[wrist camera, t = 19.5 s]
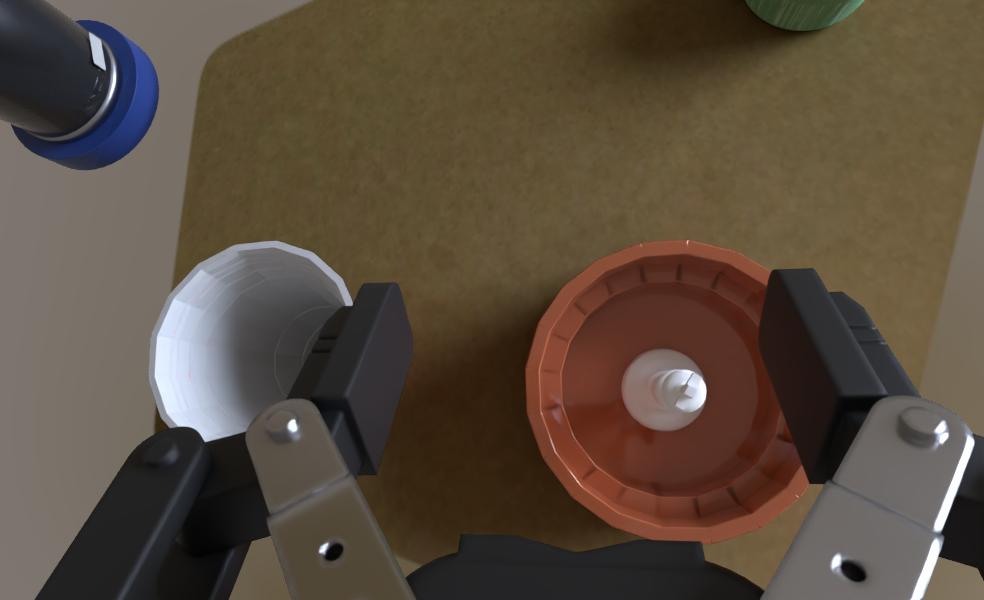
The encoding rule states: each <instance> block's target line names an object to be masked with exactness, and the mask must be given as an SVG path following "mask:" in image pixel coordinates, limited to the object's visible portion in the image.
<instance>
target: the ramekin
mask: <svg viewBox="0 0 984 600" xmlns="http://www.w3.org/2000/svg"><path fill="white" fill-rule="evenodd" d="M745 1H746V3H747V5H748V6H749V7H750V9H751V10H752V11H753V12H754V13H755V14H756V15H757V16H758V17H760V18H761V19H763V20H764V21H766V22H768V23H769V24H771V25H774V26H776V27H779V28H783V29H787V30H795V31H810V30H818V29H822V28H825V27H828V26H831V25H833V24H835V23H837V22H839V21H841V20H843V19H844V18H846V17H847V16H848V15H850V14H851V13H852V12H853V11H854V10H855V9H857V8H858V7H859V6H860V5H861V3H862V2H863V1H864V0H745Z"/></svg>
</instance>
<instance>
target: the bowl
mask: <svg viewBox="0 0 984 600" xmlns="http://www.w3.org/2000/svg"><path fill="white" fill-rule="evenodd" d="M770 273H771V271H769V270H767V269H766V268H764V267H762V266H760V265H759V264H757V263H755V262H753V261H752V260H750V259H748V258H747V257H745V256H743V255H741V254H740V253H738V252H736V251H735V252H734V251H733V250H728V249H724V248H720V247H716V246H711V245H707V244H703V243H699V242H694V241H690V240H689V241H688V240H677V241H662V242H646V243H639V244H636V245H634V246H631V247H629V248H626V249H623V250H621V251H618V252H615V253H613V254H610V255H608V256H605V257H602V258H600V259H598V260H596V261H595V262H593V263H592V264H591V265H590V266H588V267H587V268H586V269H585V270H583V271H582V272H581V273H580V274H578V275H577V276H576V277H575V278H573V279H572V280H571V281H569V282H568V283H567V284H566V285H564V286H563V288H561V290H560V291H559V293H558V294H557V296H556V297H555V299H554V300H553V302H552V303H551V305H550V306H549V308H548V309H547V311H546V312H545V314H544V315H543V317H542V318H541V320H540V321H539V323H538V325H537V328H536V331H535V335H534V338H533V342H532V345H531V349H530V352H529V356H528V359H527V363H526V368H525V381H526V410H527V416H528V419H529V422H530V425H531V427H532V430H533V433H534V436H535V439H536V442H537V444H538V447H539V450H540V453H541V456H542V457H543V460H544V461H545V463H546V464H547V465H548V467H549V468H550V469H551V471H552V472H553V473H554V475H555V476H556V477H557V479H558V480H559V481H560V483H561V484H562V485H563V487H564V488H565V489H566V491H567V492H568V493H569V495H570V496H571V497H572V498H573V499H574V500H576V501H577V502H578V503H580V504H581V505H583V506H584V507H585V508H587V509H588V510H589V511H591V512H592V513H593V514H595V515H596V516H598V517H599V518H600V519H602V520H603V521H604V522H606V523H607V524H609V525H610V526H613V527H614V528H616V529H619V530H622V531H625V532H628V533H631V534H634V535H637V536H640V537H643V538H646V539H649V540H671V541H701V542H702V544H711V543H712V544H714V543H717V542H720V541H724V540H727V539H730V538H733V537H736V536H739V535H742V534H745V533H749V532H752V531H755V530H758V529H759V528H762V527H763V526H764V525H766V524H767V523H768V522H770V521H771V520H772V519H774V518H775V517H776V516H778V515H779V514H780V513H781V512H783V511H784V510H785V509H787V508H788V507H789V506H791V505H792V504H793V503H795V502H796V501H797V500H799V498H801V496H802V495H803V493H804V492H805V490H806V489H807V487H808V486H809V481H808V479H807V476H806V473H805V471H804V468H803V466H802V463H801V460H800V458H799V455H798V452H797V450H796V447H795V444H794V442H793V439H792V436H791V434H790V431H789V429H788V426H787V423H786V421H785V418H784V415H783V413H782V410H781V407H780V405H779V402H778V400H777V397H776V394H775V392H774V389H773V386H772V384H771V381H770V378H769V376H768V373H767V371H766V368H765V365H764V363H763V360H762V357H761V354H760V350H759V342H758V330H759V324H760V319H761V314H762V309H763V304H764V299H765V294H766V289H767V284H768V279H769V276H770ZM653 349H671V350H675V351H678V352H680V353H683V354H684V355H686V356H688V357H689V358H690V359H691V360H693V361H694V362H695V363H696V365H697V366H698V367H699V368H700V370H701V372H702V374H703V376H704V378H705V382H706V387H707V397H706V402H705V405H704V408H703V410H702V412H701V413H700V415H699V416H698V417H697V418H696V419H695V420H694V421H693V422H692V423H691V424H689V425H688V426H686V427H684V428H682V429H679V430H675V431H668V432H663V431H656V430H652V429H650V428H647V427H645V426H643V425H642V424H640V423H639V422H638V421H636V420H635V419H634V418H633V417H632V416H631V414H630V413H629V411H628V410H627V408H626V406H625V404H624V401H623V398H622V390H621V386H622V379H623V376H624V373H625V371H626V369H627V367H628V366H629V364H630V363H631V362H632V361H633V360H634V359H635V358H636V357H637V356H639V355H640V354H642V353H644V352H647V351H649V350H653Z"/></svg>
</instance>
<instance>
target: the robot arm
mask: <svg viewBox="0 0 984 600" xmlns="http://www.w3.org/2000/svg"><path fill="white" fill-rule="evenodd" d="M121 86H122V69H121V64H120V61H119V58H118V56H117V54H116V53H115V51H114V50H113V48H112V47H111V46H110V45H109V44H108V43H107V42H105V41H104V40H103V39H101V38H100V37H98V36H97V35H96V34H94V33H92V32H91V31H88V30H86V29H85V28H83V27H82V26H81V25H79V24H78V23H76V22H75V21H74V20H72V19H71V18H69V17H68V16H66V15H65V14H64V13H63V12H61V11H60V10H58V9H57V8H55V7H54V6H53V5H51V4H50V3H48V2H47V1H45V0H0V119H1V120H3V121H5V122H8V123H10V124H12V125H14V126H16V127H19V128H21V129H23V130H25V131H26V132H28V133H29V134H31V135H33V136H36V137H38V138H40V139H42V140H45V141H47V142H51V143H57V144H65V143H71V142H75V141H78V140H81V139H83V138H85V137H87V136H89V135H90V134H92V133H93V132H95V131H96V130H97V129H98V128H99V127H100V126H101V125H102V124H103V123H104V122H105V121H106V120H107V119H108V117H109V116H110V114H111V113H112V111H113V110H114V108H115V106H116V103H117V101H118V98H119V95H120V92H121ZM758 342H759V350H760V354H761V357H762V360H763V363H764V365H765V368H766V371H767V373H768V376H769V378H770V381H771V384H772V386H773V389H774V392H775V394H776V397H777V400H778V402H779V405H780V407H781V410H782V413H783V415H784V418H785V421H786V423H787V426H788V429H789V431H790V434H791V436H792V439H793V442H794V444H795V447H796V450H797V452H798V455H799V458H800V460H801V463H802V466H803V468H804V471H805V473H806V476H807V479H808V481H809V484H825V485H824V487H823V488H822V490H821V492H820V494H819V495H818V497H817V499H816V501H815V503H814V504H813V506H812V508H811V510H810V511H809V513H808V515H807V517H806V519H805V520H804V522H803V524H802V526H801V528H800V529H799V531H798V533H797V535H796V536H795V538H794V540H793V542H792V544H791V545H790V547H789V549H788V551H787V552H786V554H785V556H784V558H783V560H782V561H781V563H780V565H779V567H778V568H777V570H776V572H775V574H774V576H773V577H772V579H771V581H770V583H769V584H768V586H767V588H766V590H765V591H764V590H763V589H762V588H760V587H759V586H757V585H756V584H754V583H753V582H751V581H750V580H748V579H746V578H745V577H743V576H741V575H739V574H737V573H735V572H733V571H731V570H729V569H727V568H724V567H722V566H719V565H717V564H714V563H710V562H707V561H705V558H704V553H703V548H702V542H701V541H671V540H635V541H630V542H626V543H621V544H616V545H612V546H607V547H603V548H598V549H593V550H589V551H584V552H573V551H569V550H565V549H562V548H558V547H555V546H551V545H548V544H544V543H541V542H537V541H534V540H530V539H527V538H523V537H520V536H509V535H477V534H460V540H459V546H458V552H456V553H452V554H449V555H446V556H443V557H440V558H437V559H435V560H433V561H431V562H429V563H427V564H425V565H423V566H421V567H420V568H418V569H417V570H415V571H414V572H412V573H411V574H410V575H408V576H407V577H406V578H405V576H404V574H403V572H402V571H401V568H400V566H399V564H398V562H397V560H396V558H395V556H394V554H393V552H392V550H391V549H390V547H389V545H388V543H387V541H386V539H385V537H384V535H383V533H382V531H381V529H380V527H379V525H378V523H377V521H376V519H375V517H374V515H373V513H372V511H371V509H370V507H369V505H368V503H367V501H366V499H365V497H364V495H363V493H362V491H361V489H360V487H359V485H358V484H357V482H356V480H357V477H358V475H377V471H378V468H379V465H380V462H381V458H382V455H383V452H384V449H385V445H386V442H387V439H388V436H389V432H390V429H391V426H392V423H393V419H394V416H395V413H396V410H397V406H398V403H399V400H400V397H401V393H402V390H403V387H404V384H405V380H406V377H407V374H408V371H409V367H410V364H411V361H412V356H413V337H412V332H411V328H410V324H409V321H408V317H407V313H406V309H405V305H404V302H403V298H402V294H401V290H400V287H399V285H398V284H397V283H370V284H363V285H362V286H361V288H360V290H359V292H358V295H357V297H356V299H355V301H354V303H353V305H352V306H342V307H341V308H340V309H338V310H337V311H336V312H335V313H334V314H333V315H332V316H331V317H330V318H329V319H328V320H326V322H325V324H324V326H323V328H322V330H321V332H320V334H319V336H318V340H316V342H315V344H314V346H313V348H312V350H311V353H309V355H308V357H307V359H306V361H305V363H304V365H303V367H302V369H301V371H300V373H299V375H298V377H297V379H296V381H295V383H294V385H293V386H292V388H291V390H290V392H289V394H288V396H287V398H286V400H283V401H280V402H277V403H275V404H273V405H271V406H269V407H267V408H266V409H264V410H263V411H262V412H260V413H259V414H258V415H257V416H256V417H255V418H254V419H253V420H252V422H251V423H250V425H249V427H248V429H247V431H245V432H242V433H238V434H235V435H231V436H227V437H223V438H219V439H215V440H212V441H208V442H205V441H204V439H203V438H202V436H201V435H200V433H199V432H198V431H197V430H196V429H193V428H191V427H184V426H180V427H173V428H169V429H166V430H163V431H160V432H158V433H156V434H154V435H152V436H151V437H149V438H148V439H146V440H145V441H143V442H142V443H141V444H140V445H139V446H137V447H136V449H134V451H133V452H132V453H131V454H130V456H129V457H128V458H127V460H126V462H125V463H124V465H123V466H122V468H121V469H120V471H119V472H118V474H117V475H116V477H115V478H114V480H113V481H112V483H111V484H110V486H109V487H108V489H107V490H106V492H105V494H104V495H103V497H102V498H101V499H100V501H99V502H98V504H97V506H96V507H95V509H94V510H93V512H92V513H91V515H90V516H89V518H88V520H87V521H86V522H85V524H84V526H83V527H82V528H81V530H80V531H79V533H78V535H77V536H76V537H75V539H74V541H73V542H72V544H71V545H70V547H69V548H68V550H67V551H66V553H65V554H64V556H63V557H62V559H61V560H60V562H59V563H58V565H57V567H56V568H55V569H54V571H53V573H52V574H51V576H50V577H49V579H48V580H47V582H46V583H45V585H44V586H43V588H42V589H41V591H40V592H39V594H38V595H37V597H36V598H35V600H229V597H230V595H231V592H232V590H233V587H234V584H235V582H236V580H237V577H238V574H239V572H240V570H241V567H242V564H243V562H244V559H245V557H246V554H247V552H248V549H249V546H250V544H251V542H252V541H254V540H258V539H261V538H265V537H268V536H271V537H272V540H273V543H274V546H275V550H276V553H277V556H278V559H279V562H280V565H281V568H282V571H283V574H284V577H285V581H286V584H287V586H288V590H289V593H290V596H291V599H292V600H922V599H923V596H924V593H925V591H926V588H927V585H928V582H929V580H930V577H931V574H932V571H933V569H934V566H935V563H936V561H937V558H938V557H942V558H945V559H948V560H952V561H955V562H959V563H962V564H965V565H969V566H972V567H975V568H978V570H979V572H980V574H981V576H982V578H983V580H984V437H982V436H978V435H975V434H972V433H971V431H970V429H969V427H968V426H967V425H966V424H965V422H964V421H963V420H962V419H960V418H959V417H958V416H957V415H956V414H955V413H953V412H952V411H950V410H949V409H947V408H945V407H943V406H942V405H940V404H937V403H934V402H933V401H930V400H927V399H924V398H921V396H920V395H919V393H918V391H917V390H916V388H915V387H914V385H913V384H912V382H911V381H910V379H909V377H908V376H907V374H906V373H905V371H904V370H903V368H902V367H901V365H900V363H899V362H898V360H897V359H896V357H895V356H894V354H893V353H892V351H891V349H890V348H889V346H888V345H887V344H885V340H884V339H883V337H882V335H881V334H880V332H879V331H878V329H875V325H874V323H873V321H872V320H871V318H870V317H869V315H868V314H867V312H866V311H865V309H864V307H862V306H861V305H860V304H858V303H857V302H855V301H854V300H853V299H851V298H850V297H849V296H847V295H846V294H845V293H843V292H828V291H827V289H826V287H825V286H824V284H823V282H822V280H821V279H820V277H819V275H818V274H817V272H816V271H815V270H814V269H813V268H806V269H778V270H772V272H771V273H770V276H769V279H768V284H767V289H766V294H765V299H764V304H763V309H762V314H761V319H760V324H759V330H758Z"/></svg>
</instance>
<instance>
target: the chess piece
mask: <svg viewBox="0 0 984 600" xmlns="http://www.w3.org/2000/svg"><path fill="white" fill-rule="evenodd" d="M621 390H622V398H623V401H624V404H625V406H626V408H627V410H628V411H629V413H630V414H631V416H632V417H633V418H634V419H635V420H636V421H638V422H639V423H640V424H642V425H643V426H645V427H647V428H650V429H652V430H656V431H663V432H668V431H675V430H679V429H682V428H684V427H686V426H688V425H689V424H691V423H692V422H693V421H694V420H695V419H696V418H697V417H698V416H699V415H700V413H701V412H702V410H703V408H704V405H705V402H706V397H707V387H706V382H705V378H704V376H703V374H702V372H701V370H700V368H699V367H698V366H697V365H696V363H695V362H694V361H693V360H691V359H690V358H689V357H688V356H686V355H684V354H683V353H680V352H678V351H675V350H671V349H653V350H649V351H647V352H644V353H642V354H640V355H639V356H637V357H636V358H635V359H634V360H633V361H632V362H631V363H630V364H629V366H628V367H627V369H626V371H625V373H624V376H623V379H622V386H621Z"/></svg>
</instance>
